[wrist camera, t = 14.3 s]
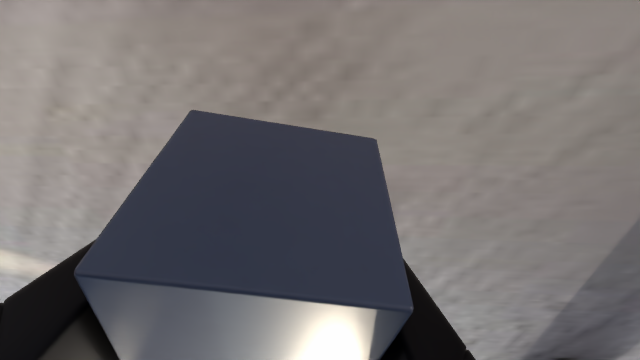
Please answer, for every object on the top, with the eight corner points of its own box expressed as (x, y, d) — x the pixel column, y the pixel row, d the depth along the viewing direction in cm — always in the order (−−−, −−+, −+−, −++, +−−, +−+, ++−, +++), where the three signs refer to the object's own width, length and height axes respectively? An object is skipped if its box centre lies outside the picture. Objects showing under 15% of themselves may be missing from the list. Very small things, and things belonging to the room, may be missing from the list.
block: (339, 252, 10) (345, 413, 7) (202, 235, 10) (137, 397, 7) (377, 137, 8) (417, 311, 4) (190, 108, 7) (67, 272, 4)
